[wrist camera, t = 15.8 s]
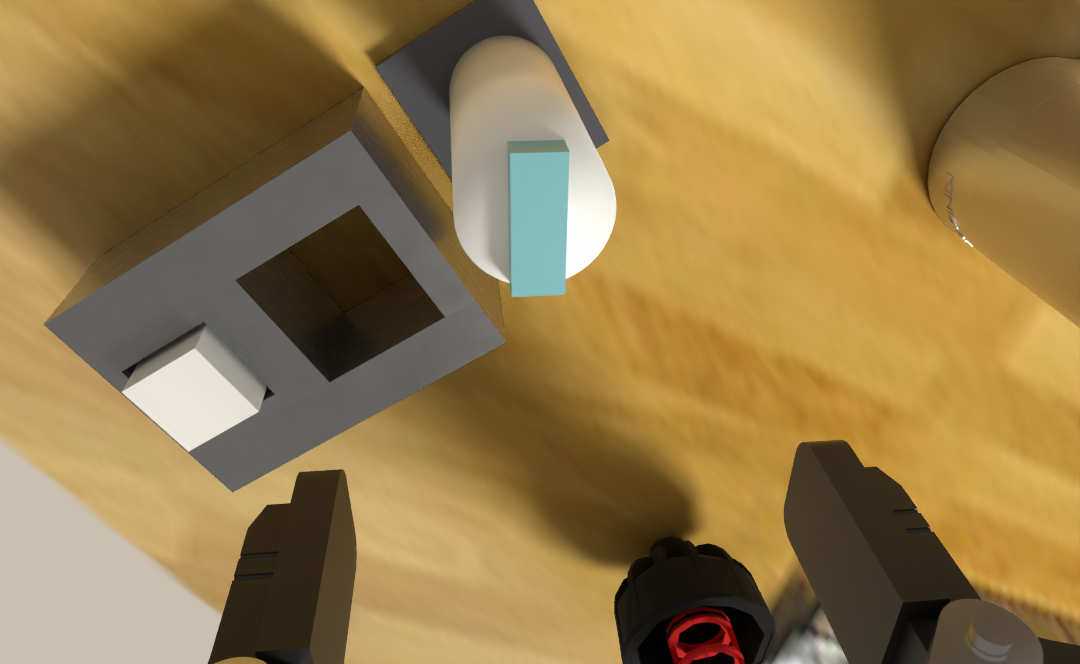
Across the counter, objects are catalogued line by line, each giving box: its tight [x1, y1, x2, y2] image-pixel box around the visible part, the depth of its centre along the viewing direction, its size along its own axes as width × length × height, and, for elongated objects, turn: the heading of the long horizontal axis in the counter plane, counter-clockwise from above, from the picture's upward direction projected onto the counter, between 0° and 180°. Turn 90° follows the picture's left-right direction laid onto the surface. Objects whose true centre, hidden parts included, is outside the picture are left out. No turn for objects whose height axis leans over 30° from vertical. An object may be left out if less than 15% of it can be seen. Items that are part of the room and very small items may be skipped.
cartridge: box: [449, 35, 616, 297], centre depth 29 cm, size 5×5×14 cm
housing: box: [44, 87, 506, 492], centre depth 36 cm, size 15×11×6 cm
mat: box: [375, 0, 609, 179], centre depth 35 cm, size 7×8×1 cm
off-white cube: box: [122, 322, 267, 452], centre depth 35 cm, size 4×4×5 cm
